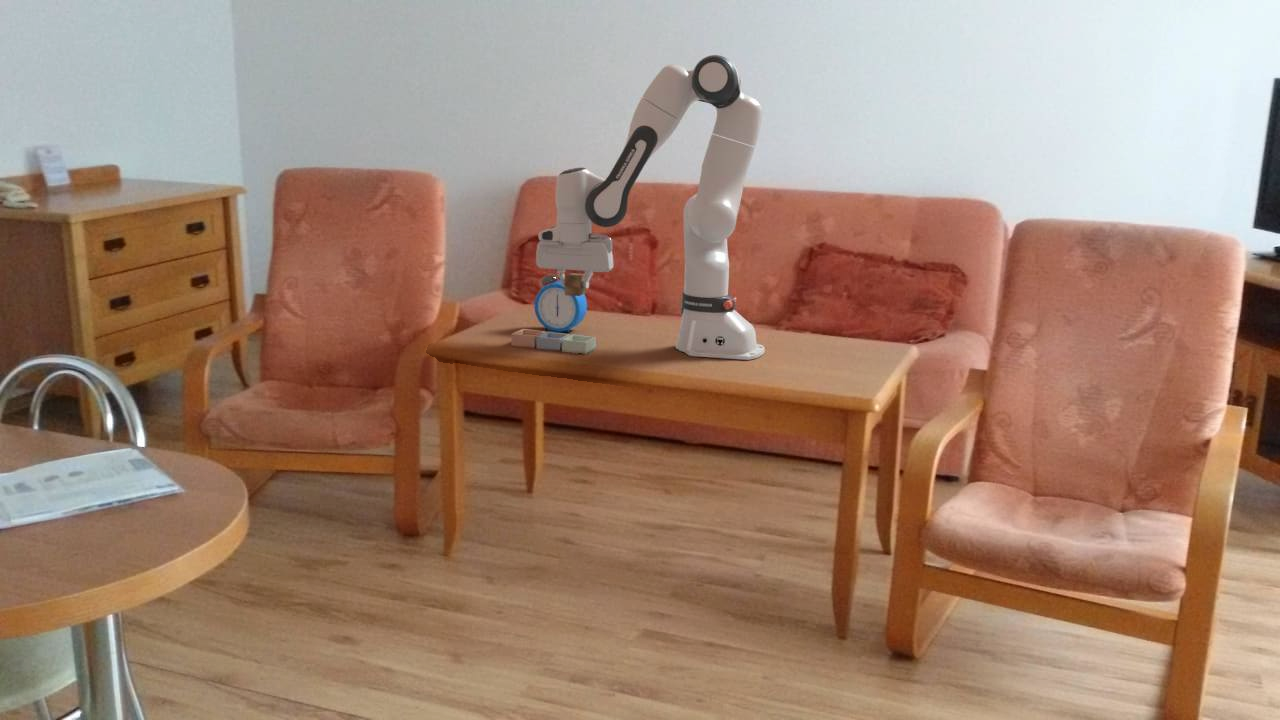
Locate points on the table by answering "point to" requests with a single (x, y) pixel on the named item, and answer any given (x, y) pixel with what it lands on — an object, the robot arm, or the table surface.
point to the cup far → (526, 338)
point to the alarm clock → (558, 306)
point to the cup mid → (551, 341)
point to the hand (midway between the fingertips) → (575, 287)
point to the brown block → (574, 284)
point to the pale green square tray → (578, 344)
